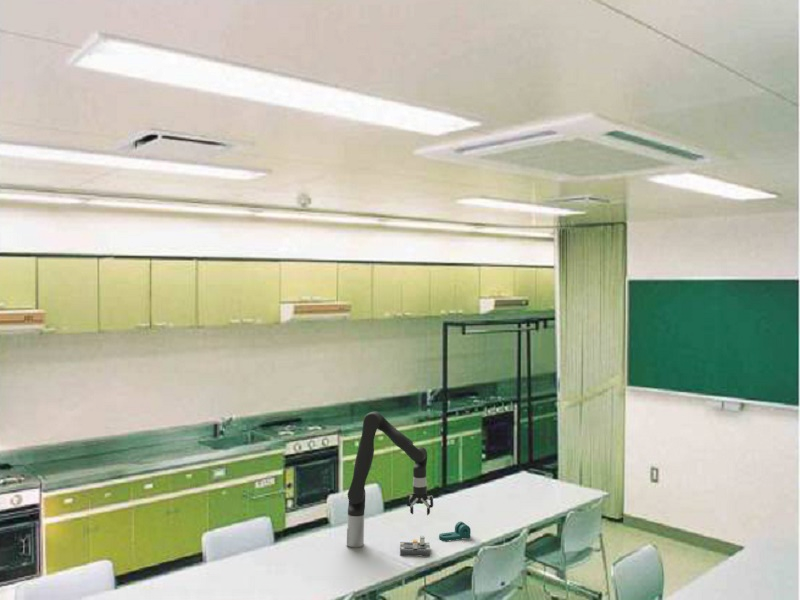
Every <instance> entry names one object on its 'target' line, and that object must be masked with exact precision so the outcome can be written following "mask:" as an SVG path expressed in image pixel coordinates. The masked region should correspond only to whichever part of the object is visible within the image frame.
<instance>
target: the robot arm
mask: <svg viewBox="0 0 800 600" xmlns="http://www.w3.org/2000/svg"><path fill="white" fill-rule="evenodd" d="M377 430H379V431H380V432H382V433H384V434H385V435H386V436H387V438H388V439H390V441H391V442H392V443H393V444H394V445H395V446H397V448H399V449H400V450H402V451H403V452H404V453H405V454H406V455H407V457H409V458H410V459H411V460H412V461H414V466H413V472H412V473H413V474H412V475H413V476H412V477H413V478H412V494H410V493H408V495H407V497H406V506H407V507H409V508H410V509H409V512H410V514H411V515H414V505H415V504H421V505H423V504H424V506H425V507H426V515H427V516H429V515H430V513H431V508H433V507H434V495H432V494H431V495H428V488H427V486H428V482H427V463H428V451H427V449H426V448H425V447H423V446H419V447H416V446H415V445H414V443H413V441H412V440H411V439H410V438H409V437H407V436H406V435H405V434H403V433H402V432H401V431H400V430H398V429H397V428H396V427H394V425H392V424H391V423H390V422H389V421H388V420H387V418H385V417H384V416H383V415H382V414H381V413H380V412H379V411H371V412H368V413H367V414H366V415H365V416H364V418H363V423H362V431H361V437H360V441H359V444H358V448H357V453H356V457H355V461H354V462H355V463H354V469H353V473H352V474H353V476H352V479H351V480H352V481H351V482H350V486H349V489H348V491H347V498H348V507H347V528H346V546H347V547H351V548H361V547H363V546H364V545H365V543H364V542H365V540H364V539H365V510H366V509H365V508H366V488H365V487H366V481H367V478H368V475H369V473H370V470H371V467H372V464H373V460H374V455H375V443H374V442H375V435H376V433H377ZM412 499H413V501H412V503H411V500H412ZM428 500H429V502H428Z"/></svg>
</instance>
